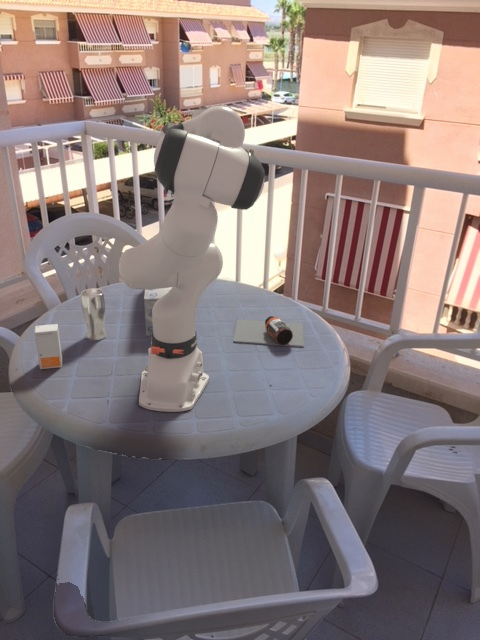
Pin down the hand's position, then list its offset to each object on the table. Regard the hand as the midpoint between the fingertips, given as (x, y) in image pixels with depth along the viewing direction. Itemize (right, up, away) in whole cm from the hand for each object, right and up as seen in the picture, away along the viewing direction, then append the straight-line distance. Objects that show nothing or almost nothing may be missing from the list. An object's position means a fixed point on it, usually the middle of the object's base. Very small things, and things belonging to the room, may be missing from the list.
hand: (206, 215), depth 155 cm
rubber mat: (+19, -35, +14) cm, 43 cm away
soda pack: (-16, -27, +28) cm, 42 cm away
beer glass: (-35, -36, +8) cm, 51 cm away
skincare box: (-44, -44, -7) cm, 62 cm away
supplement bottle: (+24, -37, +4) cm, 44 cm away
